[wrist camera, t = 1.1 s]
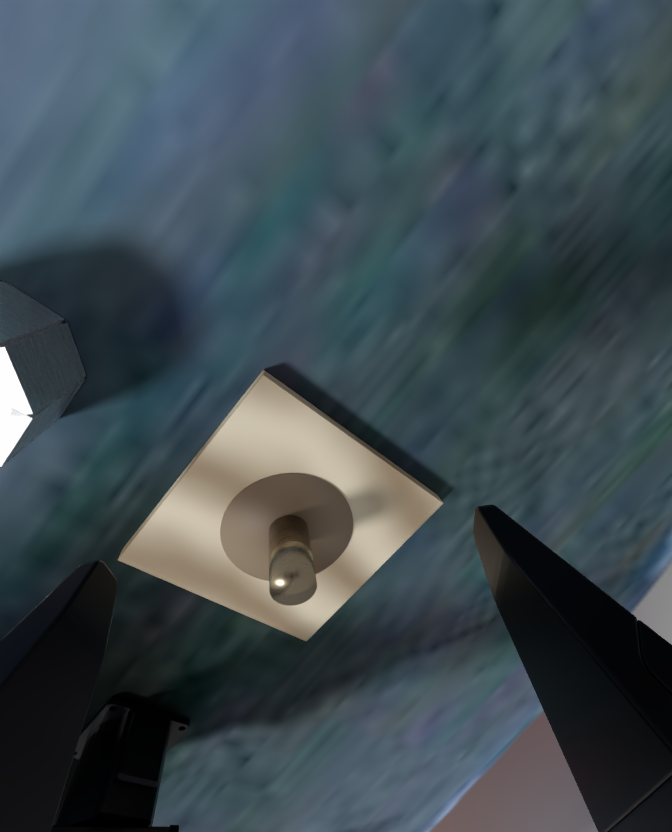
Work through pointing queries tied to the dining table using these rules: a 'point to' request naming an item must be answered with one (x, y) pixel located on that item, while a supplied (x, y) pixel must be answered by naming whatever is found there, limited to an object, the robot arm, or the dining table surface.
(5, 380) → the aluminium ring
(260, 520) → the birch base board
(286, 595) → the bronze post
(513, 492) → the dining table surface
